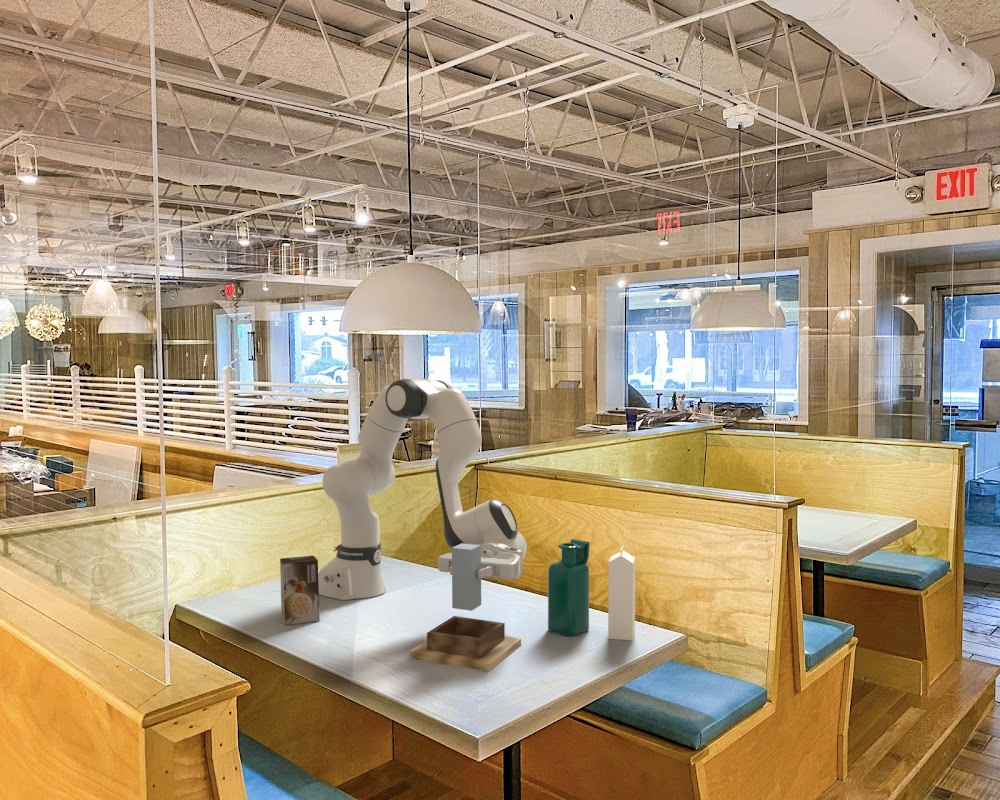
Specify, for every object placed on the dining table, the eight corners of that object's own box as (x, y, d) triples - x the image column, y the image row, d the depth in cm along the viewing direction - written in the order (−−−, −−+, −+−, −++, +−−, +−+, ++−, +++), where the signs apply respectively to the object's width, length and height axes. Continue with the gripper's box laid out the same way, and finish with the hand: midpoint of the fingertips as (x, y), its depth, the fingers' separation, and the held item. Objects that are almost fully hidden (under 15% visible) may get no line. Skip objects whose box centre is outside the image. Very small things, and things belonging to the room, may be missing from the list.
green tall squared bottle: (571, 638, 195) (571, 548, 194) (544, 630, 201) (544, 543, 200) (595, 628, 202) (595, 542, 202) (568, 621, 208) (568, 537, 207)
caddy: (409, 657, 183) (409, 633, 182) (446, 633, 199) (446, 611, 199) (489, 671, 175) (489, 646, 174) (521, 644, 191) (521, 622, 191)
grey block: (452, 608, 185) (451, 547, 184) (462, 602, 190) (461, 543, 189) (471, 610, 183) (471, 549, 182) (481, 604, 188) (480, 545, 187)
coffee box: (316, 614, 215) (315, 554, 214) (320, 621, 209) (319, 560, 208) (280, 618, 211) (279, 557, 211) (283, 625, 205) (282, 563, 205)
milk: (608, 639, 195) (607, 549, 194) (610, 631, 201) (610, 543, 200) (633, 641, 194) (633, 550, 193) (635, 632, 200) (635, 544, 199)
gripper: (452, 543, 202) (425, 555, 189) (528, 550, 194) (504, 563, 181) (452, 568, 202) (425, 581, 190) (528, 576, 194) (505, 591, 181)
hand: (465, 573), depth 185 cm, fingers closed on grey block, 5 cm apart
